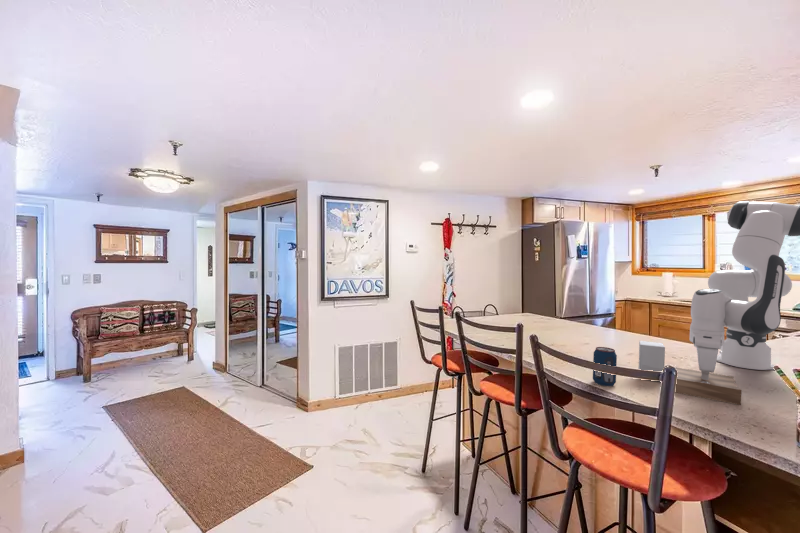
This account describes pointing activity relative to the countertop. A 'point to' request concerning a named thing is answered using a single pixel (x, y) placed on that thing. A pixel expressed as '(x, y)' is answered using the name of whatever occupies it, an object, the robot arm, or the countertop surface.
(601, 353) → the soda can
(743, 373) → the countertop surface
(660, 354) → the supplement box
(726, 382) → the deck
